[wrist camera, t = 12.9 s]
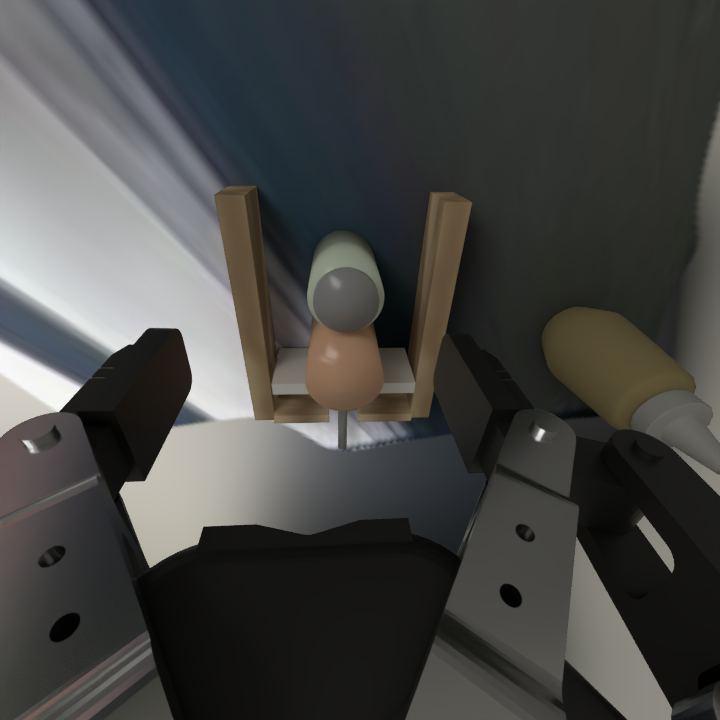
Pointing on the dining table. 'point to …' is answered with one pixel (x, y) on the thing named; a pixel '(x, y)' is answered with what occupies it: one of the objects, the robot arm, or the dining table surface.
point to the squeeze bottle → (629, 380)
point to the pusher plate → (293, 382)
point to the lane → (256, 318)
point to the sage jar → (344, 283)
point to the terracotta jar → (343, 367)
